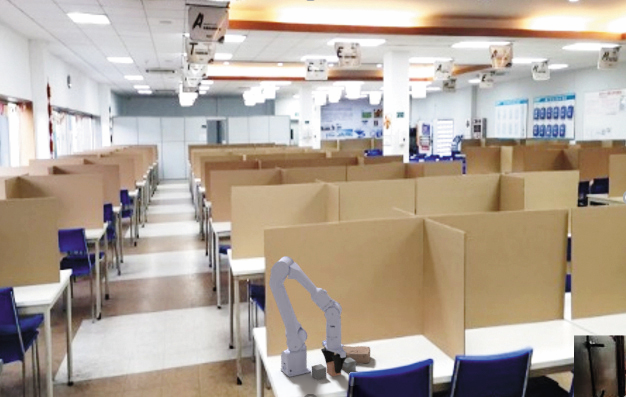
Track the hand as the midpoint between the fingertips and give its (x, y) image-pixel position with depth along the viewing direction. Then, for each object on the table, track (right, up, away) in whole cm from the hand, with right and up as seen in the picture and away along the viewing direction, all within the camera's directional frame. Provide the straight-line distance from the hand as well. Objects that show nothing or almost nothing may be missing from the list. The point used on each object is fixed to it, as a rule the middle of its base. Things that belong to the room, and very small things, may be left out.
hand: (333, 369), depth 212 cm
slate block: (+6, -1, +3) cm, 7 cm away
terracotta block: (0, -2, 0) cm, 2 cm away
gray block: (-6, -2, -3) cm, 7 cm away
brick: (+7, -1, +14) cm, 16 cm away
